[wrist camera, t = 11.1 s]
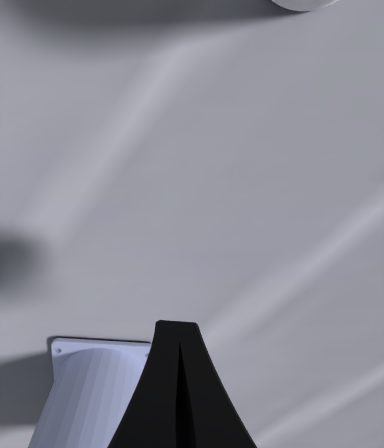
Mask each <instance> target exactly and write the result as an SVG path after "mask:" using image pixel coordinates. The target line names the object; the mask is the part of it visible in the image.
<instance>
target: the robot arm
mask: <svg viewBox="0 0 384 448" xmlns="http://www.w3.org/2000/svg"><path fill="white" fill-rule="evenodd" d="M51 351H52V363H53V374H54V383H53V386H52V388H51V391H50V393H49V396H48V398H47V401H46V403H45V406H44V408H43V411H42V413H41V416H40V418H39V421H38V423H37V426H36V428H35V431H34V433H33V436H32V438H31V441H30V443H29V446H28V448H257V447H256V445H255V443H254V442H253V440H252V438H251V437H250V435H249V433H248V431H247V430H246V428H245V426H244V424H243V423H242V421H241V419H240V417H239V415H238V414H237V412H236V410H235V408H234V406H233V404H232V402H231V400H230V398H229V397H228V395H227V393H226V391H225V389H224V386H223V384H222V382H221V380H220V378H219V376H218V374H217V372H216V370H215V367H214V365H213V363H212V361H211V358H210V356H209V353H208V351H207V349H206V346H205V344H204V341H203V338H202V335H201V333H200V330H199V326H198V325H197V324H196V323H194V322H180V321H166V320H159V321H157V322H156V325H155V332H154V338H153V342H152V344H150V343H135V342H118V341H101V340H85V339H68V338H56V339H54V340H53V341H52V343H51ZM147 353H149V354H147Z"/></svg>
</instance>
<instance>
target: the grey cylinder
mask: <svg viewBox="0 0 384 448" xmlns="http://www.w3.org/2000/svg"><path fill="white" fill-rule="evenodd" d="M272 1H273V2H274V3H276V4H277V5H279V6H281V7H284V8H286V9H290V10H294V11H312V10H317V9H320V8H323V7H326V6H328V5H331V4H333V3H335V2H337V1H339V0H272Z"/></svg>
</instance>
